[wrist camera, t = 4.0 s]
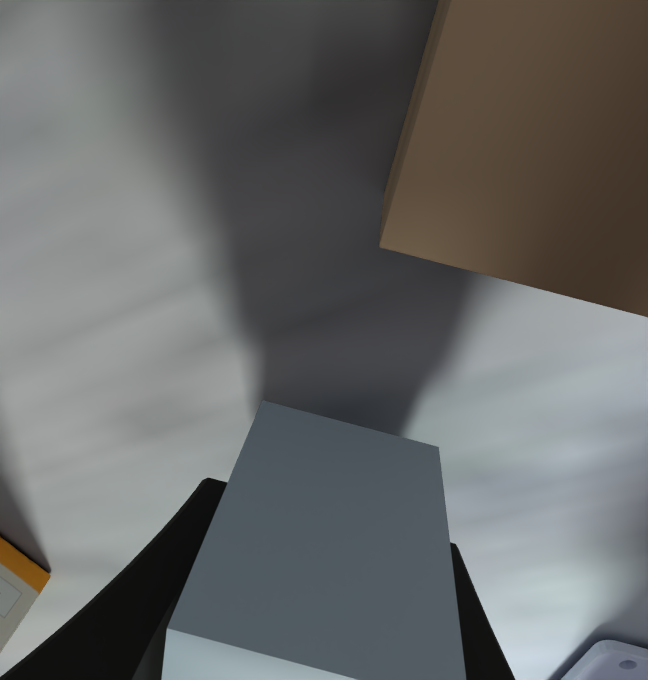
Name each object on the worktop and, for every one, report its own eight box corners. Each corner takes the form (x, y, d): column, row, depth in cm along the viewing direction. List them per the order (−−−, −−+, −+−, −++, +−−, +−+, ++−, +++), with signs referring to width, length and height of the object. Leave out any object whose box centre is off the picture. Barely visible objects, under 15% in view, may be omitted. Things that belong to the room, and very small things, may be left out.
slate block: (438, 447, 10) (470, 709, 6) (386, 559, 12) (382, 818, 8) (262, 400, 10) (166, 628, 6) (238, 519, 12) (153, 756, 8)
